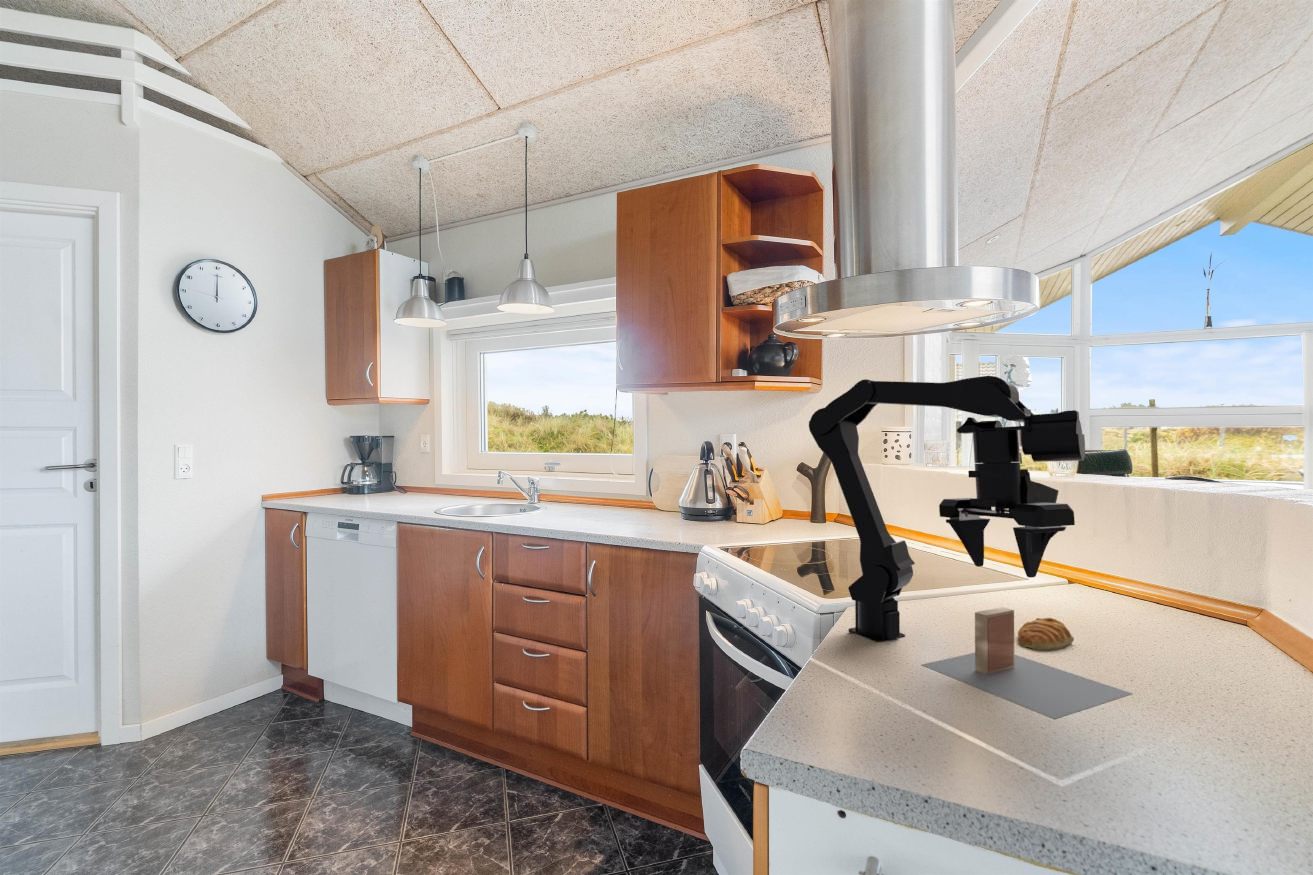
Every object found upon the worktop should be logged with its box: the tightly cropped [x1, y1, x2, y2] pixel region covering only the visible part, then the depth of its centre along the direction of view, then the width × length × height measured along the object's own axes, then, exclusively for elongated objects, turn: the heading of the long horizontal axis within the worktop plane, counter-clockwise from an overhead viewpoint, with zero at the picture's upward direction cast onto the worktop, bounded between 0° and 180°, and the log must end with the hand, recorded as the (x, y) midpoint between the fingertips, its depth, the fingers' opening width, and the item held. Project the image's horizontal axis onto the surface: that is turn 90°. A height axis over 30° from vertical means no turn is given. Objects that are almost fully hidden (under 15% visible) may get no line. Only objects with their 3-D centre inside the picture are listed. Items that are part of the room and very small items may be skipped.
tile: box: [974, 606, 1016, 675], centre depth 80 cm, size 2×6×8 cm, turn 115°
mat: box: [921, 652, 1133, 720], centre depth 77 cm, size 18×16×1 cm
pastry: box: [1017, 617, 1075, 651], centre depth 91 cm, size 9×7×4 cm
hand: (1003, 571), depth 83 cm, fingers open, 9 cm apart
